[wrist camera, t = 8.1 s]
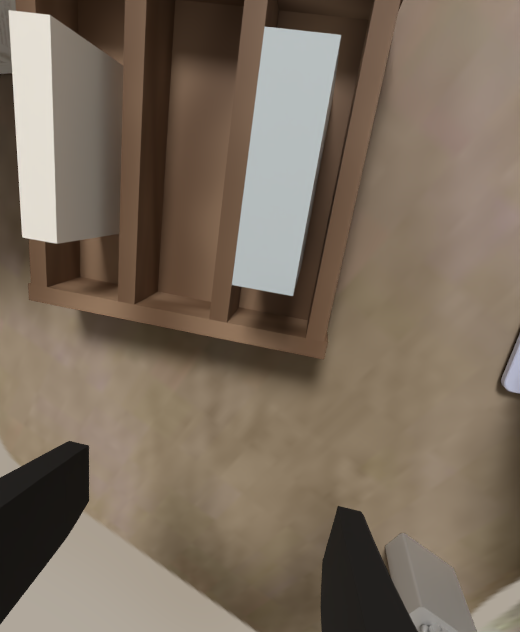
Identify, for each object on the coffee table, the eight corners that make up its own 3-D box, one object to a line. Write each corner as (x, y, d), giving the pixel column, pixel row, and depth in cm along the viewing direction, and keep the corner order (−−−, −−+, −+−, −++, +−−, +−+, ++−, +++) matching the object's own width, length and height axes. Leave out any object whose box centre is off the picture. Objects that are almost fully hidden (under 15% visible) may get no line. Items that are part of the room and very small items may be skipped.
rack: (394, 10, 15) (416, -47, 11) (323, 332, 19) (323, 359, 16) (71, -23, 16) (7, -81, 13) (76, 284, 20) (28, 299, 17)
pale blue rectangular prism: (333, 98, 15) (341, 35, 9) (301, 264, 17) (292, 296, 12) (285, 91, 15) (264, 26, 9) (260, 257, 17) (231, 284, 12)
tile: (130, 70, 16) (50, 14, 11) (125, 232, 18) (57, 243, 13) (100, 66, 16) (8, 10, 11) (99, 228, 18) (22, 237, 13)
